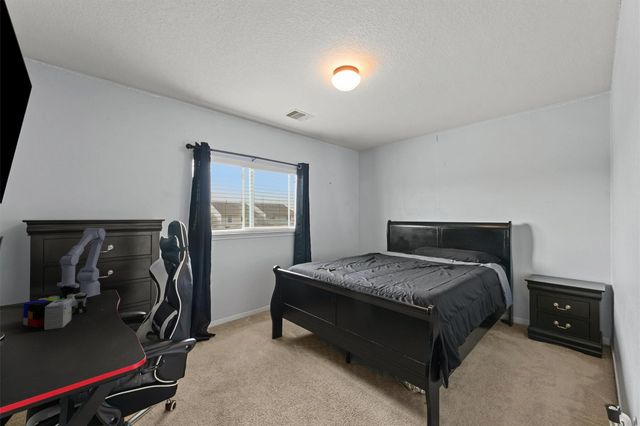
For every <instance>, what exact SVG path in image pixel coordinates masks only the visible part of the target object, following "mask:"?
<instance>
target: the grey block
mask: <svg viewBox="0 0 640 426" xmlns="http://www.w3.org/2000/svg"><path fill="white" fill-rule="evenodd" d="M76 294H77V293H75V294H74V293H72V294H70V295H67V299H72V301H73V300H76V299H75V297H74V296H75V295H76Z"/></svg>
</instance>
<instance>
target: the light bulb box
mask: <svg viewBox="0 0 640 426" xmlns="http://www.w3.org/2000/svg"><path fill="white" fill-rule="evenodd" d="M61 299H62V298H61ZM72 307H73V306H72V299H62V300H54V301H53V302H52V303H50V304H49V305H47V306H45V324H44V325H43V327H44V331H46V330H47V331H48V330H55V329H62V328H64V327H65V326H66V325H68V323H69V322H71V320H72Z"/></svg>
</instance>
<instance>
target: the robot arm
mask: <svg viewBox="0 0 640 426" xmlns="http://www.w3.org/2000/svg"><path fill="white" fill-rule="evenodd" d="M105 237H106V229H105V228H102V227H99V228H98V227H97V228H96V227H87V228H85V229H84V231H83V233H82V236H81V239H80V240H79V242H77V245H74V246H72V248H71V249H70V250H68V252H67V253H66V254H65V255H63V256H62V257H61V258H59V261H58V262H59V265H60V268H61V282H57V283H56V287H60V288H59V290H60V291H61V292H62V295H63V298H65V299H67V295H70V294H74V290H75V289H76V288H80V289H79V293H85V294H87V296H86V299H87V298H90V297H94V296H98V295H101V283H100V281H99V277H100V269H98V268H97V263H98V260H99V256H100V253H101V249H102V246H103V242H105V241H104V240H105ZM89 242H91V246H90V249H89V252H88V257H87V259H86V264H85V265H84V267H82V268H81V269H79V271H78V273H77V275H76V265H77V264H78V262H79V259H80V256H81V255H82V254H83V252H84V250H85V247H86V245H87V244H88V243H89ZM76 280H77V281H78V282H79V283H78V282H76Z"/></svg>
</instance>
